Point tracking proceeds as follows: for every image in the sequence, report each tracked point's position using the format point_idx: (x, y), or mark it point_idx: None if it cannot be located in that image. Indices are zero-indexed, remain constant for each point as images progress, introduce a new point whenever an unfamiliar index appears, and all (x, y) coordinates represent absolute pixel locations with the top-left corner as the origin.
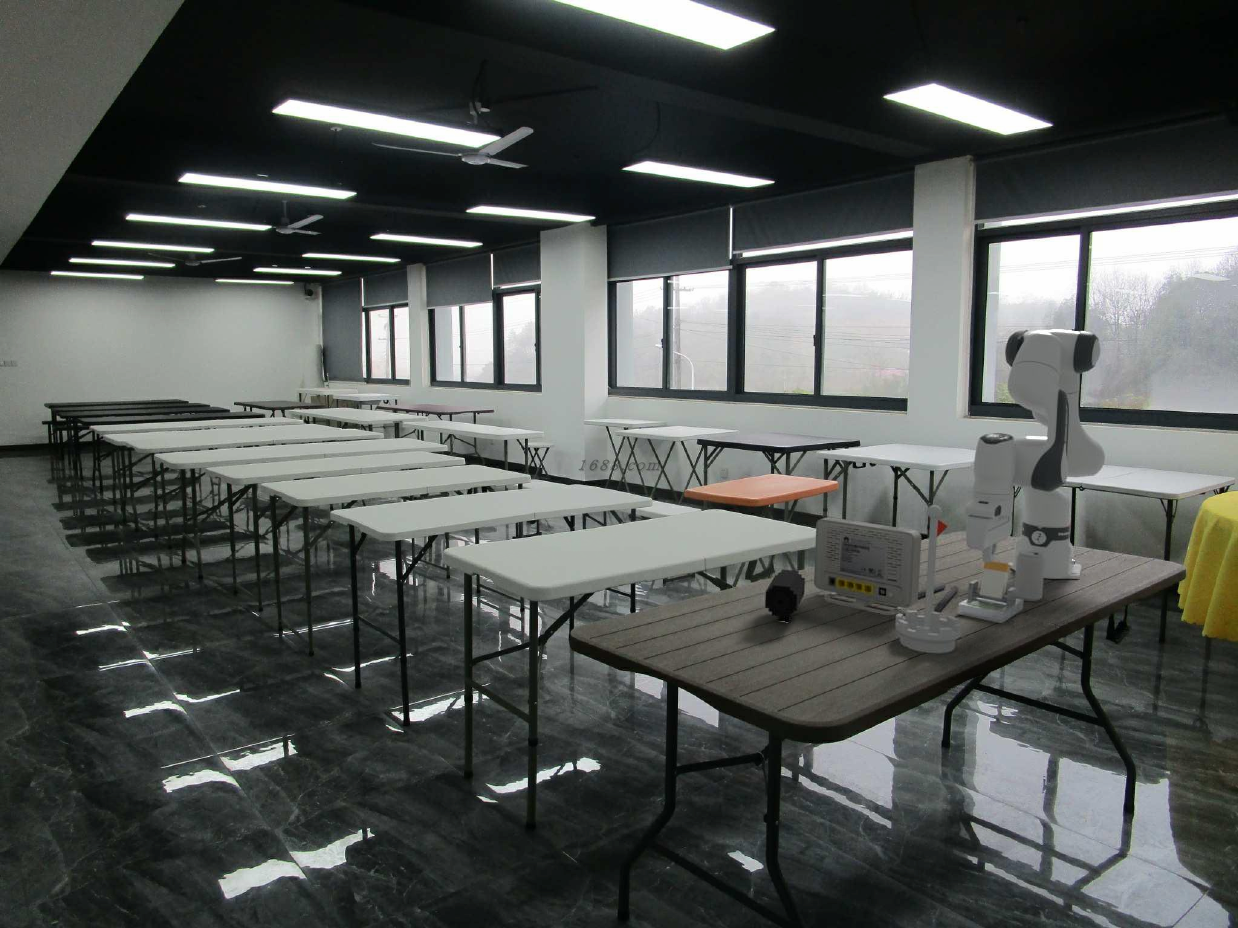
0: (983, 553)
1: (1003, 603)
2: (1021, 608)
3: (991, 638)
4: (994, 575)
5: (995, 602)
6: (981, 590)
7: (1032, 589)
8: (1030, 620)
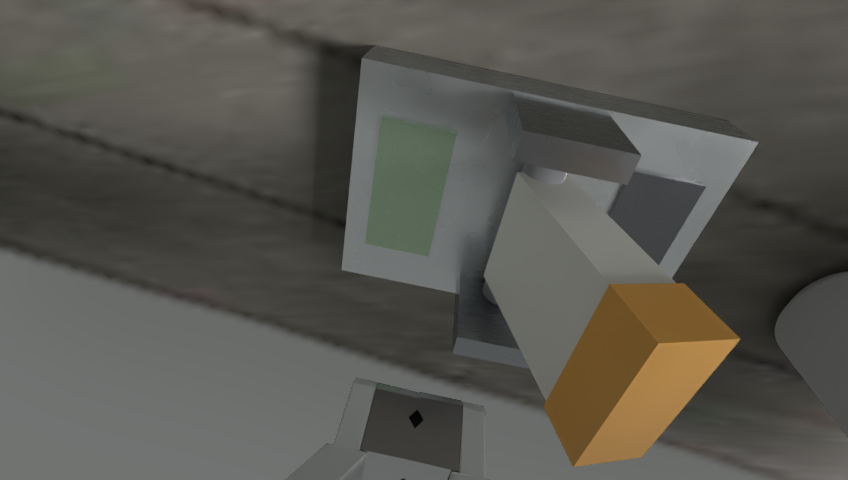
0: (313, 461)
1: None
2: None
3: (132, 223)
4: (554, 322)
5: None
6: (524, 192)
7: (802, 369)
8: None
